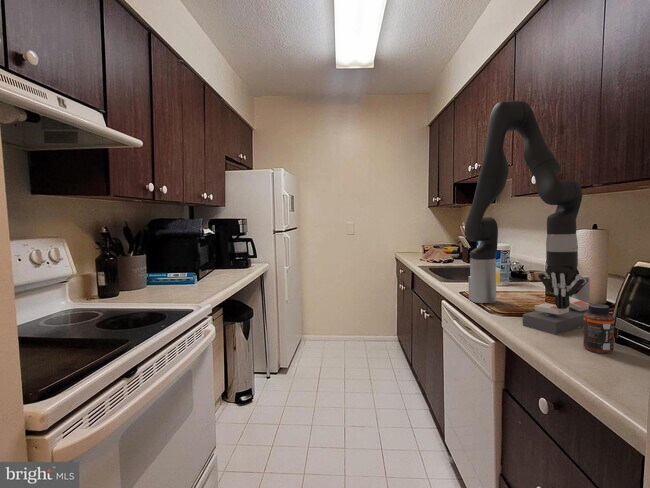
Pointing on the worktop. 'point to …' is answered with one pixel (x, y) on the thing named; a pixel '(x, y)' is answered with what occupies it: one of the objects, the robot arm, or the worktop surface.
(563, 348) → the worktop surface
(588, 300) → the beverage can
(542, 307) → the rocker outlet
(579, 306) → the rocker outlet
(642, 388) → the worktop surface
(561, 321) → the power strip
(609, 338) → the supplement bottle
